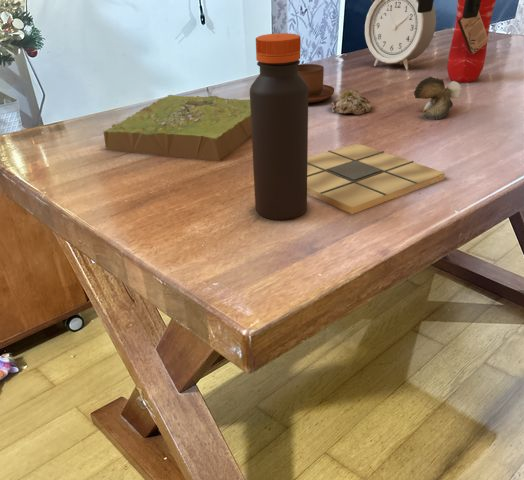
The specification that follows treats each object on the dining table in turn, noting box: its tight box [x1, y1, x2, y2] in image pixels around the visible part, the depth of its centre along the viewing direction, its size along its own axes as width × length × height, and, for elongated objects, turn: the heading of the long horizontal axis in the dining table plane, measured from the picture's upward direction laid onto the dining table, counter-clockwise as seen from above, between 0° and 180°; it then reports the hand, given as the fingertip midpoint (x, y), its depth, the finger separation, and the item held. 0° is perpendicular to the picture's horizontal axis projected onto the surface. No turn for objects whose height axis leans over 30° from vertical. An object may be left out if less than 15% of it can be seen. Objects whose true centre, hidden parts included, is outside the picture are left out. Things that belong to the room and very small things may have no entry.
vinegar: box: [249, 32, 309, 221], centre depth 65 cm, size 7×7×20 cm
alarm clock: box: [364, 0, 437, 71], centre depth 130 cm, size 16×9×22 cm, turn 49°
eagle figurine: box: [413, 76, 462, 121], centre depth 101 cm, size 8×7×9 cm
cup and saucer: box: [297, 63, 335, 104], centre depth 112 cm, size 12×12×6 cm
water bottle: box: [446, 0, 497, 83], centre depth 114 cm, size 12×8×25 cm, turn 159°
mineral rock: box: [330, 89, 373, 116], centre depth 107 cm, size 11×4×8 cm
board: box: [307, 142, 446, 215], centre depth 79 cm, size 18×18×1 cm
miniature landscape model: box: [102, 94, 252, 162], centre depth 97 cm, size 22×24×5 cm
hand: (446, 14), depth 93 cm, fingers open, 9 cm apart
